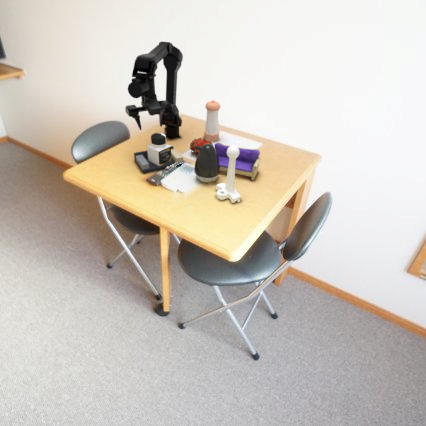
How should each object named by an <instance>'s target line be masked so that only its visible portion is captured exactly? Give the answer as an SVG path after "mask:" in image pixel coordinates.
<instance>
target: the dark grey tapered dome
mask: <svg viewBox="0 0 426 426" xmlns="http://www.w3.org/2000/svg"><path fill="white" fill-rule="evenodd" d="M194 148H195V149H197V150H199V153H198V155H196V158H195V162H194V171H193V172H194V174H195V177H196V178H197V179H198V180H199V181H200V182H202V183H212V182H214V181H216V180H217V179H218V178H219V177H218V176H219V175H220V173H221V170H220V163H219V158H218V154H217V151H216V149H215V145H214V144H213V145H211V144H205V145H203V146H202V147H199V146H196V145H195V146H194Z"/></svg>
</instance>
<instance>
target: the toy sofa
mask: <svg viewBox="0 0 426 426" xmlns="http://www.w3.org/2000/svg"><path fill="white" fill-rule="evenodd" d="M213 146H214V148H215V149H216V151H217V154H218V158H219V163H220V171H223V172H228V165H229V157H228V155H227V149H228V148H229V147H230V146H231V145H227V144H225V143H222V142H220V141H216V143H214V144H213ZM237 147H238V148H239V151H240V153H239V156H238V157H237V158H236V162H235V174H236V175H241V176H246V177H251V181H254V180H255V178H256V176H257V174H258V172H259V165H260V163H261V160H262V158H261V157H260V155H261V151H260V149H258V148H245V147H239V146H237Z"/></svg>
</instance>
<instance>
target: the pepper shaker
mask: <svg viewBox="0 0 426 426" xmlns="http://www.w3.org/2000/svg"><path fill="white" fill-rule="evenodd" d="M205 109H206V120H205V123H204V124H205V125H204V126H205V127H204V129H205V130H204V134H203V135H204V136H203V139H204V138H206V141H210V142H212V143H214V142H219V139H220V132H219V129H220V127H219V110H220V109H221V104H220V103H219V102H218V101H215V100H214V99H213V100H211V101H208V102H206V103H205Z"/></svg>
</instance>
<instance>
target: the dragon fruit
mask: <svg viewBox="0 0 426 426" xmlns="http://www.w3.org/2000/svg"><path fill="white" fill-rule="evenodd" d="M205 144H211V145H213V146H214V144H213V142H210V141H206V138H204V137H203V138H201V137H198V138H193V140H192V141H191V142H190V143H189V149H190V153H191V154H195V156H197V155H198V153H199V150H197V149H195V148H194V146H195V145H196V146H199V147H202V146H203V145H205Z"/></svg>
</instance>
